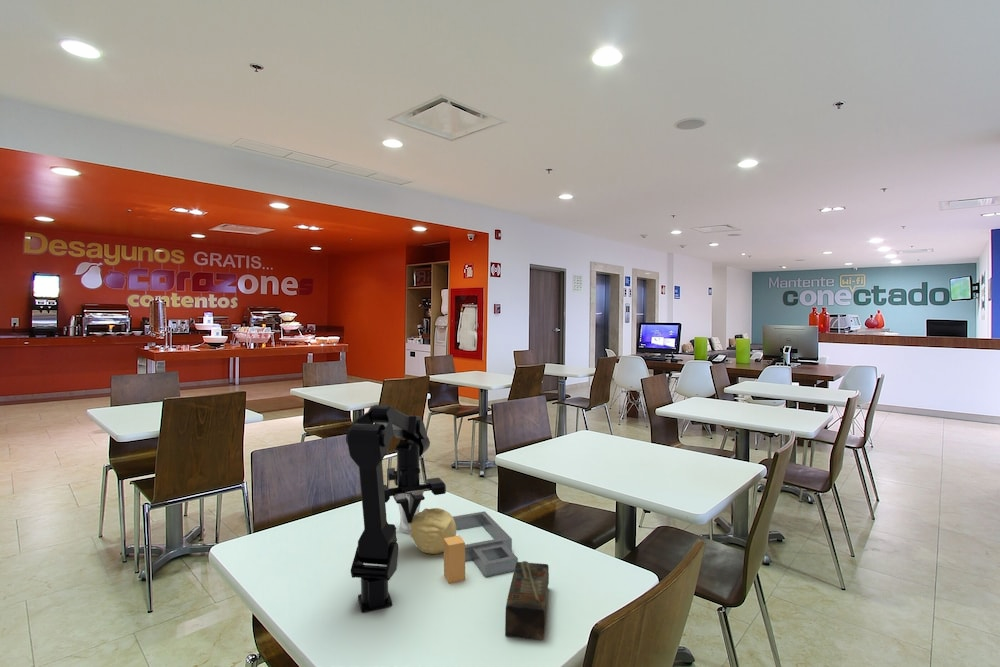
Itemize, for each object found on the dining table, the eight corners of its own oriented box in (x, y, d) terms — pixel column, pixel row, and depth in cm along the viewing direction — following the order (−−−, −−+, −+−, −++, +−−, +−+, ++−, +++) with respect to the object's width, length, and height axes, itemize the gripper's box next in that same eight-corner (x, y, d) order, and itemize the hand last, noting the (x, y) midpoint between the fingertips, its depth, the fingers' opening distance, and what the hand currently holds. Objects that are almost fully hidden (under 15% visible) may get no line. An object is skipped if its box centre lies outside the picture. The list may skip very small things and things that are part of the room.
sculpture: (405, 556, 130) (404, 515, 129) (423, 536, 141) (422, 498, 141) (447, 561, 127) (446, 519, 127) (461, 540, 139) (461, 502, 138)
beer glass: (393, 532, 144) (392, 480, 143) (404, 522, 151) (404, 473, 150) (415, 535, 142) (414, 483, 141) (425, 525, 149) (425, 475, 148)
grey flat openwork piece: (527, 568, 123) (527, 554, 123) (475, 579, 118) (475, 564, 118) (484, 522, 150) (484, 511, 150) (441, 530, 145) (441, 518, 145)
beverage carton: (549, 588, 115) (549, 560, 114) (545, 643, 96) (545, 609, 96) (515, 585, 116) (515, 557, 116) (503, 639, 97) (503, 606, 97)
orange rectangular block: (465, 579, 118) (464, 542, 118) (448, 583, 117) (448, 545, 116) (460, 571, 122) (459, 535, 122) (444, 575, 120) (443, 538, 120)
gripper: (434, 451, 142) (435, 506, 143) (367, 459, 135) (368, 516, 135) (446, 462, 132) (446, 521, 132) (373, 471, 124) (374, 533, 125)
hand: (409, 522), depth 131 cm, fingers closed
